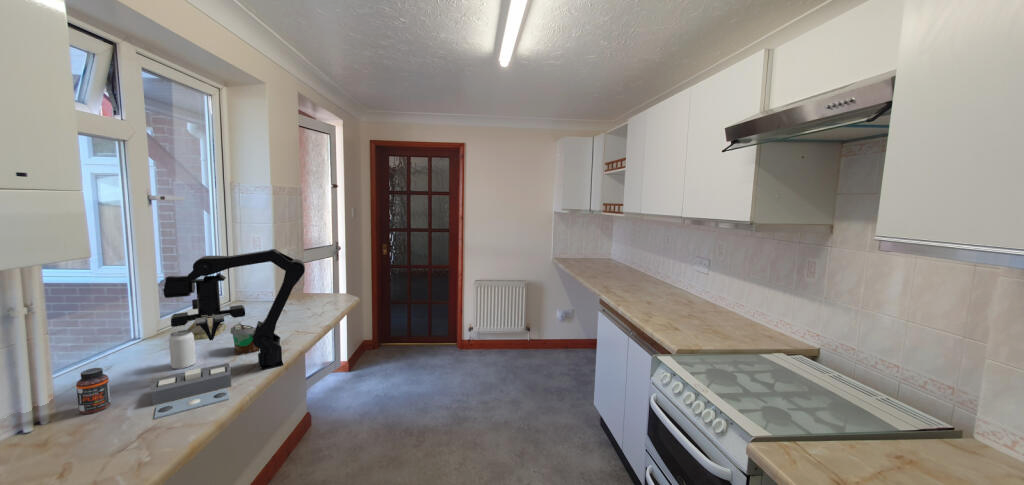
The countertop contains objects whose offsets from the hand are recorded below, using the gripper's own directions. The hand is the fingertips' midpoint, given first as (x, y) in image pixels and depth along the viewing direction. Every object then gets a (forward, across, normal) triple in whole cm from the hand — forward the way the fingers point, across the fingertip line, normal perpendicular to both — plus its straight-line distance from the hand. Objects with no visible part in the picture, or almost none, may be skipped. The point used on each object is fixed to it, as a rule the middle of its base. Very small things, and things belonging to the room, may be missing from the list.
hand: (211, 340), depth 122 cm
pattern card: (+12, +5, +18) cm, 23 cm away
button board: (+12, +5, +8) cm, 15 cm away
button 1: (+10, +11, +8) cm, 17 cm away
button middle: (+8, +5, +8) cm, 13 cm away
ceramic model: (+12, +2, -46) cm, 48 cm away
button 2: (+10, -1, +8) cm, 13 cm away
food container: (+12, -9, -16) cm, 22 cm away
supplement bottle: (+12, +26, +6) cm, 29 cm away
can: (+12, +8, -14) cm, 20 cm away
